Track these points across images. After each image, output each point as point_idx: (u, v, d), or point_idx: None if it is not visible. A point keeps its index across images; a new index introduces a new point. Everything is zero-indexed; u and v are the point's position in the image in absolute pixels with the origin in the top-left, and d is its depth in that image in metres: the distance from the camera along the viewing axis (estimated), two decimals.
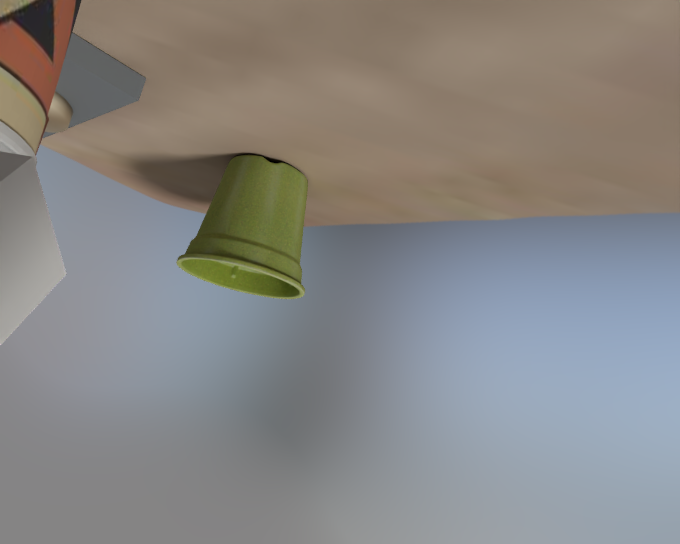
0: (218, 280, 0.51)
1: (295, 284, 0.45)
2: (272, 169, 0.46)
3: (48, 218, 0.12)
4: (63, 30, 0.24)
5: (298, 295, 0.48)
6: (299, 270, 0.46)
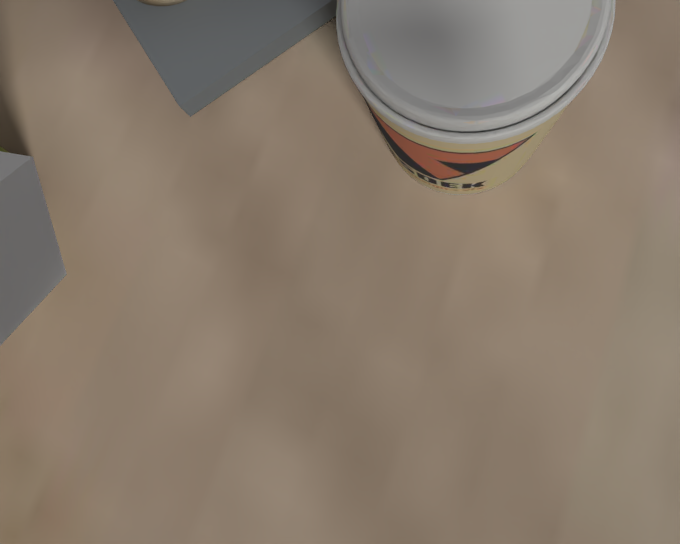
0: None
1: None
2: None
3: (48, 217, 0.12)
4: (435, 167, 0.27)
5: None
6: None
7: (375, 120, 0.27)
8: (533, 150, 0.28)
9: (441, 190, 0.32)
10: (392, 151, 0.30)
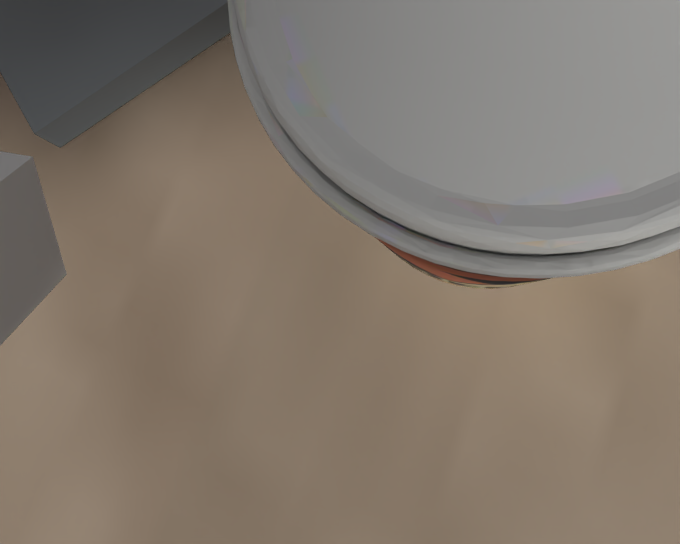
0: None
1: None
2: None
3: (48, 217, 0.12)
4: (441, 274, 0.14)
5: None
6: None
7: None
8: None
9: None
10: None
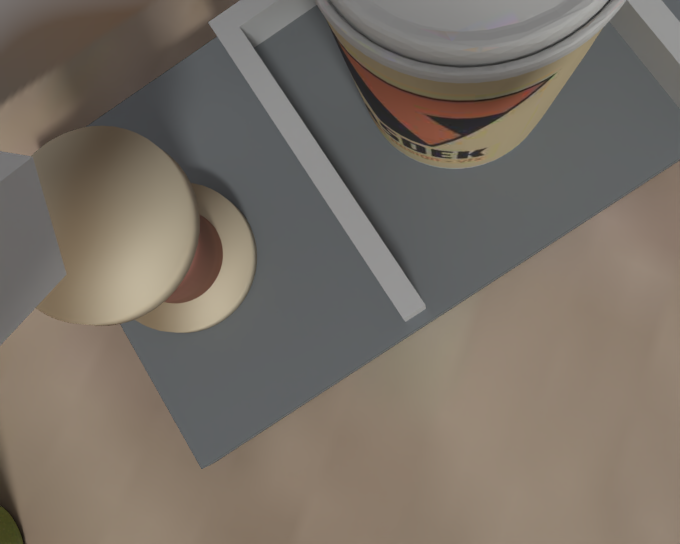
0: None
1: None
2: None
3: (48, 218, 0.12)
4: (425, 126, 0.21)
5: None
6: None
7: (349, 68, 0.21)
8: (545, 108, 0.23)
9: (431, 162, 0.26)
10: (372, 113, 0.25)
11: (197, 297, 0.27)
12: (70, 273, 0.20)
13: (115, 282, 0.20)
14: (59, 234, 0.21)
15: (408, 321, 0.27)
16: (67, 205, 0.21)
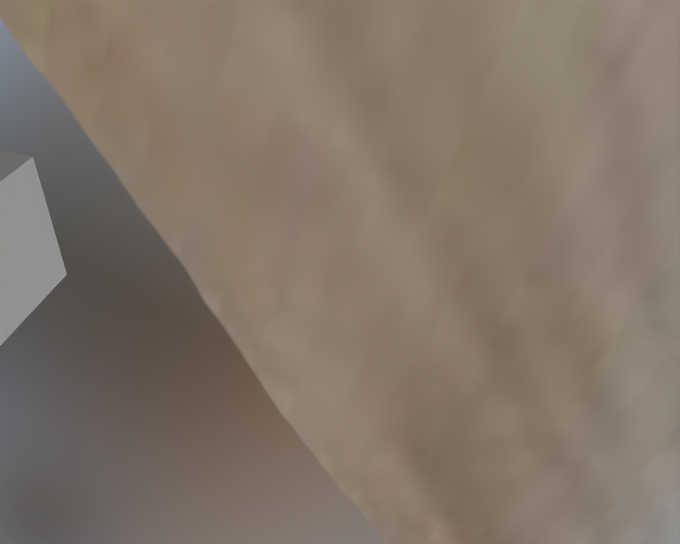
0: None
1: None
2: None
3: (48, 217, 0.12)
4: None
5: None
6: None
7: None
8: None
9: None
10: None
11: None
12: None
13: None
14: None
15: None
16: None
